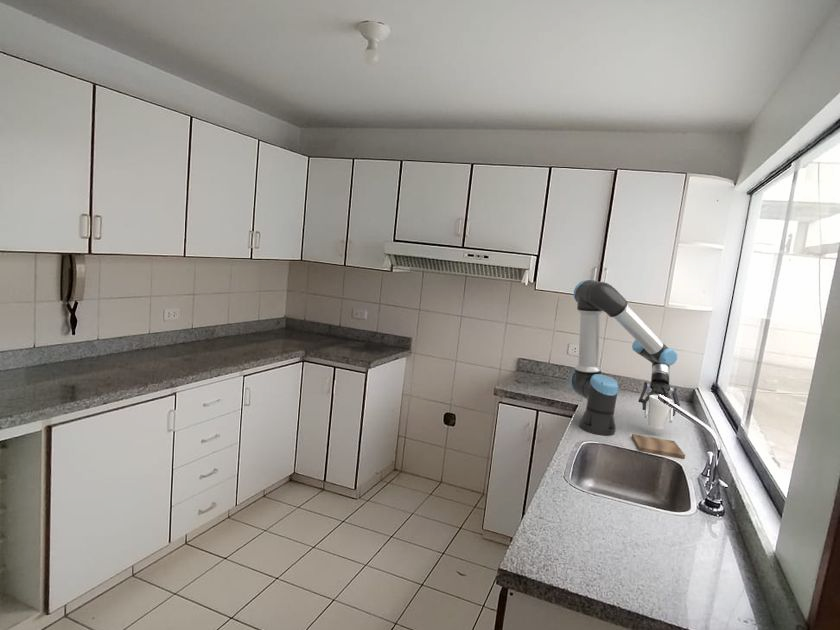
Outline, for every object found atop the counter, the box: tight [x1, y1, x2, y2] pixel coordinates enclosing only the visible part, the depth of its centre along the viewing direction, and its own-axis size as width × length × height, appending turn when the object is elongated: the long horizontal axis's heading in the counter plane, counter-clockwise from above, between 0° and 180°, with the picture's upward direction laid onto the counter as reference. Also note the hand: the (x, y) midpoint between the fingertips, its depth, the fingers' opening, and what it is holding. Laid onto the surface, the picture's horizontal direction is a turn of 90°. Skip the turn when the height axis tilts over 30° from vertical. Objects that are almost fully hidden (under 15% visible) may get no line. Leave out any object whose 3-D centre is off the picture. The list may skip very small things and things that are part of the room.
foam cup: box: [647, 394, 674, 430], centre depth 227 cm, size 10×9×13 cm
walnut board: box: [631, 433, 686, 460], centre depth 212 cm, size 17×16×2 cm
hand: (658, 418), depth 224 cm, fingers closed on foam cup, 9 cm apart
